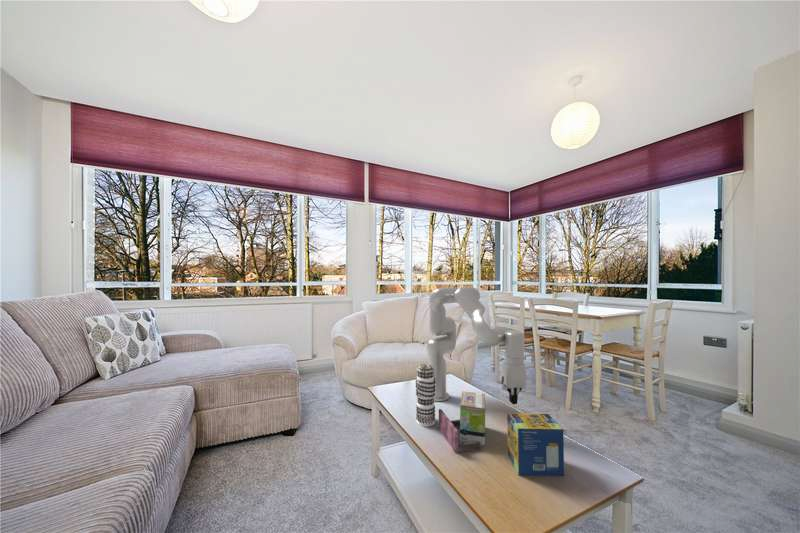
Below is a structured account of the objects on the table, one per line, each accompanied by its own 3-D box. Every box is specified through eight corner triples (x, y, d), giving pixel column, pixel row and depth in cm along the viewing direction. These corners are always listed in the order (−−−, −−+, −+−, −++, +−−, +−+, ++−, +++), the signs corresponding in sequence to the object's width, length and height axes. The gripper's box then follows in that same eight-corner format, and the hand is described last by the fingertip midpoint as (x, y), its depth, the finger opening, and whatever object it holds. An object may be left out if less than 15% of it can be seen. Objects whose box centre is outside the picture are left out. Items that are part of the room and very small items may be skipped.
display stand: (438, 428, 125) (438, 409, 125) (460, 425, 127) (460, 406, 127) (455, 453, 107) (454, 431, 108) (480, 449, 110) (480, 428, 110)
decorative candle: (440, 423, 129) (439, 366, 130) (423, 429, 124) (423, 370, 125) (428, 414, 137) (427, 361, 138) (411, 419, 132) (411, 364, 133)
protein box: (507, 456, 106) (506, 413, 106) (549, 456, 105) (549, 413, 106) (517, 476, 95) (517, 428, 96) (565, 476, 95) (564, 428, 95)
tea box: (486, 446, 111) (485, 407, 112) (459, 442, 114) (459, 404, 114) (485, 426, 126) (484, 392, 126) (461, 423, 129) (461, 390, 129)
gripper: (524, 356, 129) (523, 397, 129) (493, 358, 126) (492, 400, 126) (535, 362, 121) (534, 405, 122) (503, 364, 118) (502, 408, 119)
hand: (513, 402), depth 124 cm, fingers closed
